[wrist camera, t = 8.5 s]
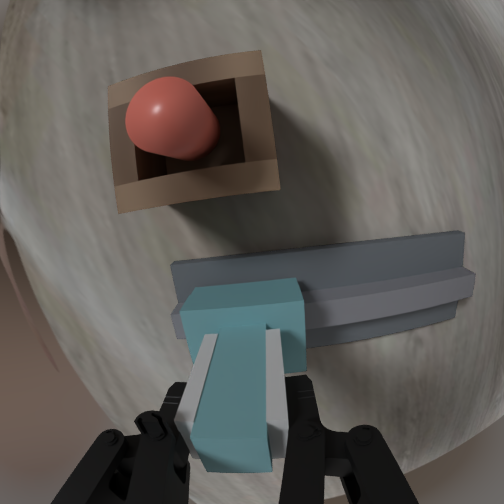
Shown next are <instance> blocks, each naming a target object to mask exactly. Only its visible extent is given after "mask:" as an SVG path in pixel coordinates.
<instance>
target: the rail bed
mask: <svg viewBox="0 0 504 504" xmlns="http://www.w3.org/2000/svg"><path fill="white" fill-rule="evenodd" d="M464 240H465V233H464V232H461V231H449V232H440V233H431V234H422V235H413V236H404V237H395V238H385V239H376V240H367V241H358V242H349V243H339V244H330V245H321V246H312V247H303V248H293V249H284V250H275V251H266V252H256V253H247V254H238V255H229V256H219V257H210V258H201V259H191V260H182V261H174V262H173V263H172V264H171V265H170V266H171V271H172V276H173V281H174V285H175V290H176V294H177V299H178V304H177V306H176V307H175V309H174V310H173V312H172V313H171V318H172V322H173V326H174V329H175V333H176V337H177V339H186V336H185V332H184V328H183V324H182V320H181V316H180V312H179V311H180V309H181V308H182V306H183V304H184V303H185V301H186V300H187V298H188V296H189V295H191V293H192V292H193V290H194V288H195V287H205V286H217V285H228V284H238V283H249V282H259V281H268V280H278V279H287V278H296V279H297V282H298V285H299V287H300V290H301V293H302V296H303V299H304V312H305V334H306V348H313V347H320V346H327V345H334V344H340V343H346V342H352V341H357V340H363V339H368V338H373V337H378V336H383V335H388V334H393V333H397V332H401V331H406V330H410V329H414V328H418V327H422V326H426V325H430V324H433V323H437V322H441V321H444V320H448V319H451V318H454V317H455V314H456V309H457V303H458V300H460V299H464V298H467V297H471V296H472V295H473V289H474V283H475V275H476V274H475V273H474V272H472V271H470V270H468V269H466V268H464V267H462V266H463V255H464Z"/></svg>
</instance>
